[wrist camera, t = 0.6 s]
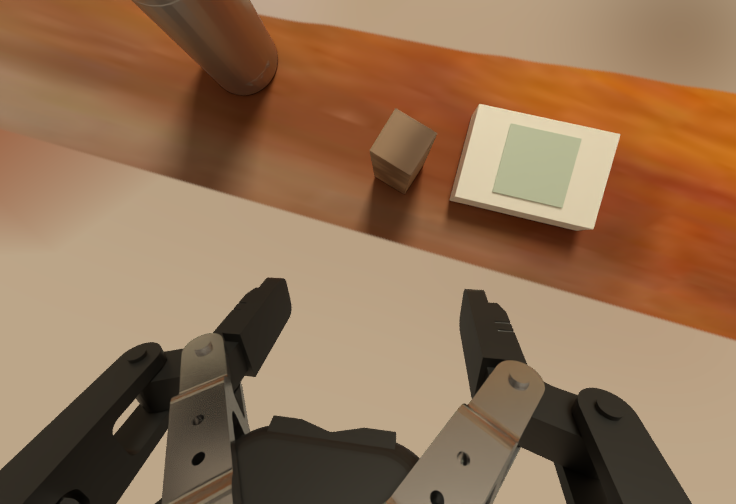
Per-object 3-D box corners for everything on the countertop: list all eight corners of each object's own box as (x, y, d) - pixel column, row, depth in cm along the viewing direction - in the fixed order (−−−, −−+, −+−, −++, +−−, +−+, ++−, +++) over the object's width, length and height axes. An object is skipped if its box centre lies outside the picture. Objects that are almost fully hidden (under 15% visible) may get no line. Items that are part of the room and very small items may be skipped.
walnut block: (374, 176, 37) (369, 150, 27) (393, 145, 36) (395, 108, 26) (404, 194, 37) (410, 175, 27) (423, 164, 36) (437, 133, 26)
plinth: (449, 200, 36) (455, 196, 33) (471, 115, 36) (479, 102, 32) (575, 230, 35) (594, 229, 32) (600, 143, 35) (621, 133, 31)
